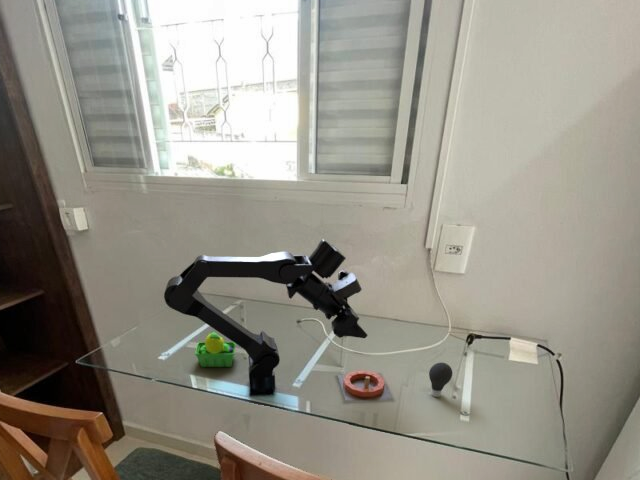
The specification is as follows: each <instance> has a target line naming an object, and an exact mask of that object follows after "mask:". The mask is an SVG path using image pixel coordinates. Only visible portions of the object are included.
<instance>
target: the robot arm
mask: <svg viewBox="0 0 640 480" xmlns="http://www.w3.org/2000/svg"><path fill="white" fill-rule="evenodd" d="M346 259H347V257H346V256H345V255H344V253H342V252H341V251H340V250H339V249H338V248H336V246H335V245H334V244H331V243H330V242H328V241H327V240H326V239H324V238H322V239H321V240H320V241H319V243H318V244H317V246H316V247H315V248H314V250H313V252H312V253H311V254H310V255H309V256H308V255H306V254H304V255H303V254H298V255H295V254H292V253H291V252H290V251H286V250H285V251H278V252H272V253H271V252H270V253H268V254H265V255H262V256H213V255H212V256H211V255H210V256H209V255H206V254H201V255H198V256H197V257H196V258H195V259H194V261H193V262H192V263H191V264H189V266H187V267H186V268H185V269H184V270H183V271H182V272H181V273H180V274H179V275H176V276H173V277H171V278H170V279H169V280H168V282H167V284H166V286H165V290H164V296H163V298H164V303H165V304H166V306H168V307H169V308H170V309H172V310H174V311H176V312H179V313H181V314H182V315H184V316H185V315H186V316H191V317H195V318H197V319H198V320H200V321H202V322H203V323H204V324H206V325H208V326H209V327H211V328H212V329H213V330H215V331H216V332H218V333H219V334H220V335H222V336H224V337H225V338H226V339H228V340H230V342H234V343H236V345H237V346H239V347H240V348H241V349H243V350H244V352H246V353H247V356H248V382H249V387H248V388H249V389H248V391H249V396H250V397H254V396H257V397H258V396H274V394H275V390H276V373H275V371H274V369H276V368H277V367H278V365H279V364H280V360H281V359H280V354H279V349H278V346H277V343H276V341H275V338H274V337H271V336H269V335H268V333H267V332H265V331H263V330H262V331H261V332H260V333H259V334H258V333H253V332H252V331H250V330H249V329H248V328H246V327H245V326H243V325H242V324H240V323H239V322H237V321H236V320H234V319H233V318H232V317H230V316H229V315H228V314H226V313H225V312H223V311H222V310H220V309H219V308H217V307H216V306H214V305H213V304H212V303H210V302H209V301H208V300H207V299H206V298H205V297H204V296H203V295H202V293H201V292H200V291H199V288H200V287H201V285H202V284H203V283H204V282H205V281H206V280H207V279H208V278H241V279H242V278H243V279H245V278H246V279H247V278H250V279H252V278H253V279H254V278H257V279H261V280H265V281H268V282H270V283H275V284H281V285H285V287H286V293H287V296H288V299H292V298H294V296H295V295H296V294H298V295H299V296H300V297H302V298H303V299H304V300H305V301H307V302H308V303H310V304H311V305H312V308H313V309H314V310H315V311H320V312H321V313H323V314H324V316H325V318H326V319H327V320H328V321H330V320H331V319H332V317H334V319H333V320H332V321H331V330H332V333H333V334H334V336H336V337H338V338H339V339H341V338H344V337H350V338H351V337H352V338H360V339H366V338H367V337H368V333H367V332H366V331H365V330H364V329H363V327H362V326H361V325H360V324H359V323H358V321H359V320H360V317H359V316H358V314H357V313H356V312H355V310H354V309H353V308H352V306H351V305H350V304H349V303H348V302H349V301H348V299H349V298H350V297H352V296H354V295H355V294H359V293H360V292H361V291H362V290H363V289H362V287H361V283H359V280H358V278H357V276H356V275H355V273H353V272H352V271H350V272H348V271H347V270H345V269H342V270H340V271H339V272H338V273H337V278H338V279H336V280H335V281H336V282H334V283H333V284H332V283H330V281H329V282H324V281H323V280H322V279H330V278H331V277H332V276H333V275H334V273H336V272H337V270H338V269H339V268H340V267H341V265H342V264H343V263H344V261H345V260H346ZM313 272H314V273H313ZM318 276H319V277H318ZM320 278H321V279H320ZM335 316H336V317H335Z"/></svg>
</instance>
